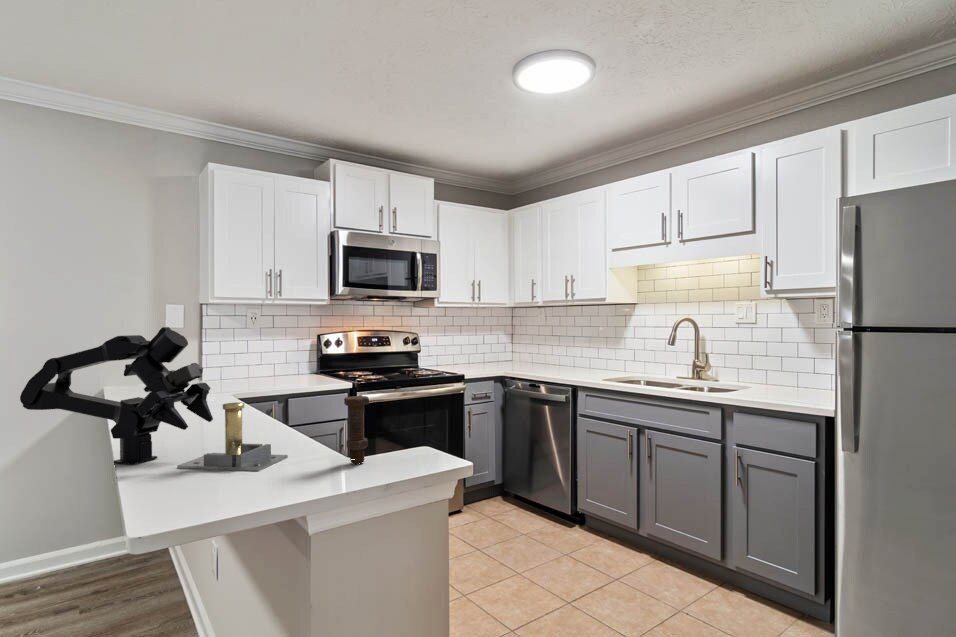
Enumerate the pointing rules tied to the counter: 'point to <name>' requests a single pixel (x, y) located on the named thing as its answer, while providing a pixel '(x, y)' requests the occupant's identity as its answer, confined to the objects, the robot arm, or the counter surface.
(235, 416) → the pin
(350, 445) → the bolt
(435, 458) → the counter surface
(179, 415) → the robot arm
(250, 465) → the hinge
